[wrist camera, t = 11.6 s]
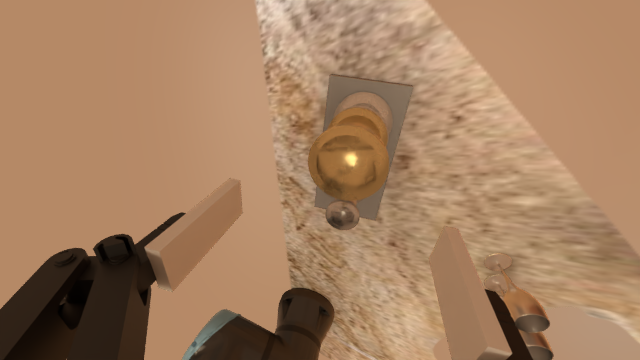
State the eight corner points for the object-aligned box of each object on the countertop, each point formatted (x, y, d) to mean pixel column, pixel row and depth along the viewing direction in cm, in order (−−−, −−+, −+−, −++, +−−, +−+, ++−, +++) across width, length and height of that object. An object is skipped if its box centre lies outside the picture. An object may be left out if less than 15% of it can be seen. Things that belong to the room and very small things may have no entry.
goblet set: (479, 253, 44) (512, 321, 33) (516, 251, 43) (564, 323, 31) (483, 342, 55) (510, 416, 44) (513, 344, 53) (548, 422, 42)
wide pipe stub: (384, 153, 38) (384, 175, 31) (330, 143, 39) (319, 162, 33) (399, 96, 34) (403, 107, 27) (338, 87, 35) (327, 95, 28)
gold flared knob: (379, 170, 31) (378, 208, 23) (323, 159, 32) (305, 191, 24) (394, 112, 27) (399, 134, 20) (331, 102, 29) (311, 119, 21)
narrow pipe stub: (363, 205, 44) (359, 237, 36) (330, 197, 45) (318, 227, 37) (370, 175, 40) (368, 203, 33) (334, 168, 41) (323, 194, 34)
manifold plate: (375, 215, 46) (375, 220, 45) (316, 202, 48) (314, 206, 46) (412, 85, 34) (413, 86, 33) (331, 74, 36) (329, 75, 35)
